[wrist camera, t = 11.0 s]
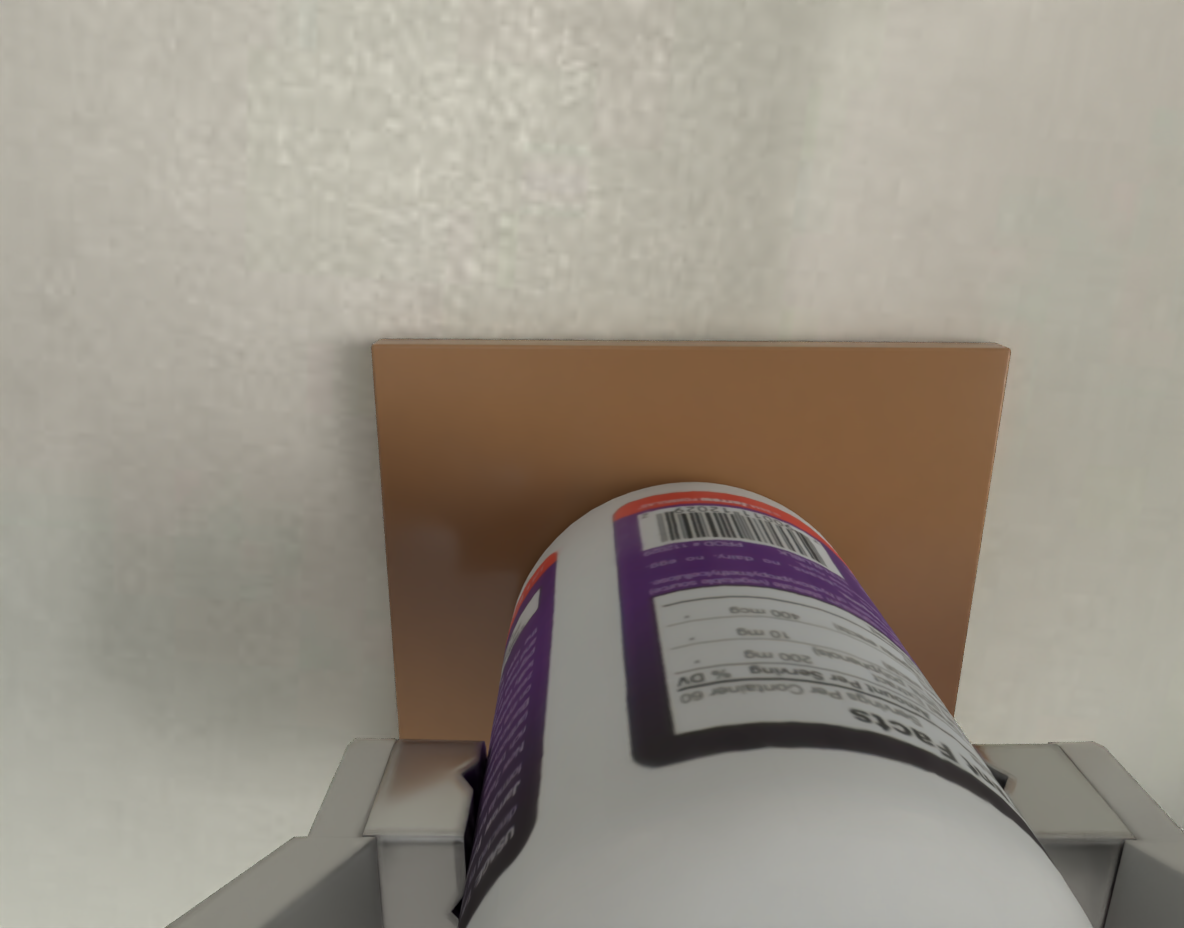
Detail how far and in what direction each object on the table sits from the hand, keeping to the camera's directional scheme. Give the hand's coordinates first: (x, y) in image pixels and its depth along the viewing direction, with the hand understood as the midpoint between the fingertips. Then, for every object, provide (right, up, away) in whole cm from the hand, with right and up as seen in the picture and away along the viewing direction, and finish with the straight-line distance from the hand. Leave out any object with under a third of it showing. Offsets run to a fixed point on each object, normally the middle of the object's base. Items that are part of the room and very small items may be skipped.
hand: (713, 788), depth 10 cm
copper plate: (0, +1, +4) cm, 4 cm away
